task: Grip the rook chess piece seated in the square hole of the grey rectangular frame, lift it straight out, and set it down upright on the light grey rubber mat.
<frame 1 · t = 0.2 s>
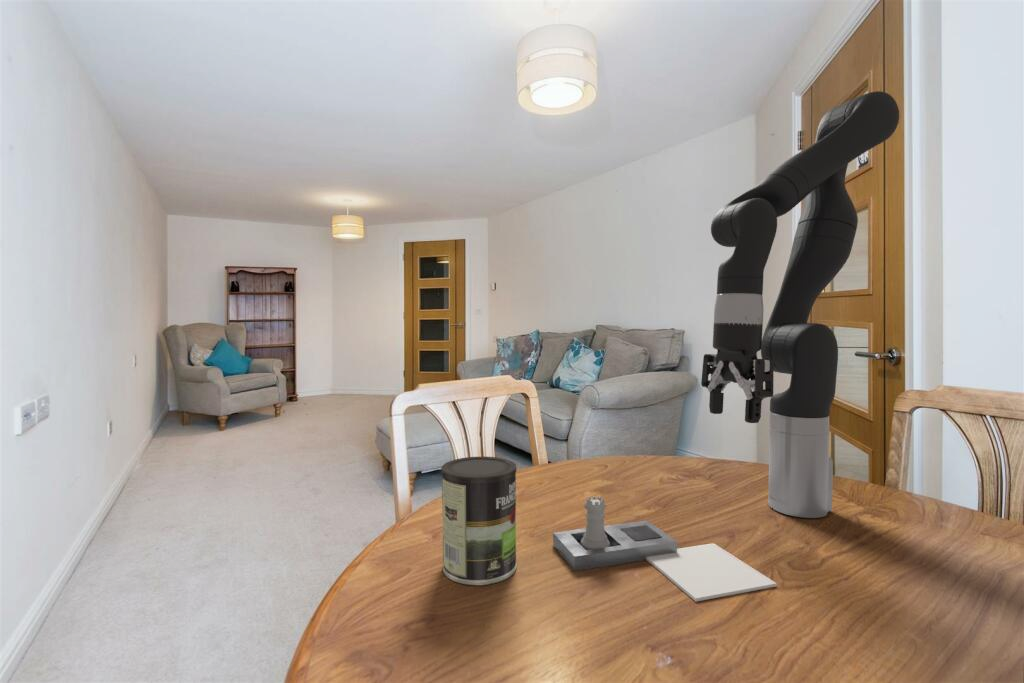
hand: (733, 417, 84), 17 cm above the table, tool pointing down, fingers open, 8 cm apart
coffee can: (479, 568, 69), on the table
rook chess piece: (595, 554, 73), resting in grey rectangular frame
grey rectangular frame: (613, 550, 74), on the table
mat: (705, 570, 67), on the table
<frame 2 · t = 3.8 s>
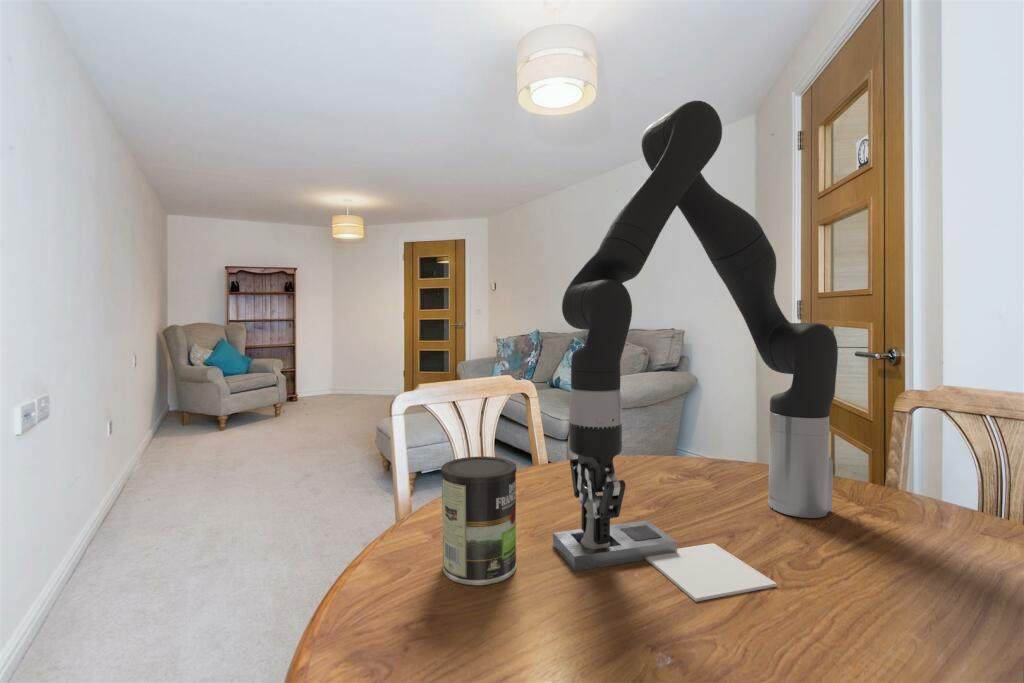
hand: (595, 536, 73), 2 cm above the table, tool pointing down, fingers closed on rook chess piece, 3 cm apart
rook chess piece: (595, 554, 73), resting in grey rectangular frame, touching gripper
everything else where it was.
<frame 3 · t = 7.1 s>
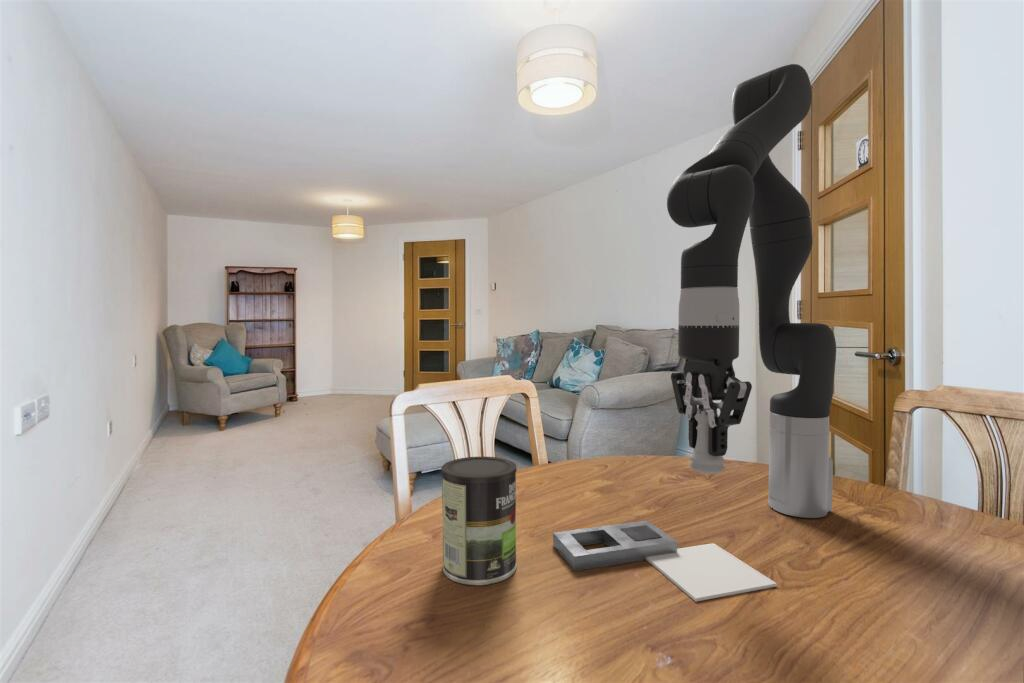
hand: (706, 450, 67), 16 cm above the table, tool pointing down, fingers closed on rook chess piece, 3 cm apart
rook chess piece: (706, 470, 67), point 14 cm above the table, touching gripper
everything else where it was.
when the fingers open (4 cm above the table, at t = 9.9 s): rook chess piece drops 1 cm, resting on mat.
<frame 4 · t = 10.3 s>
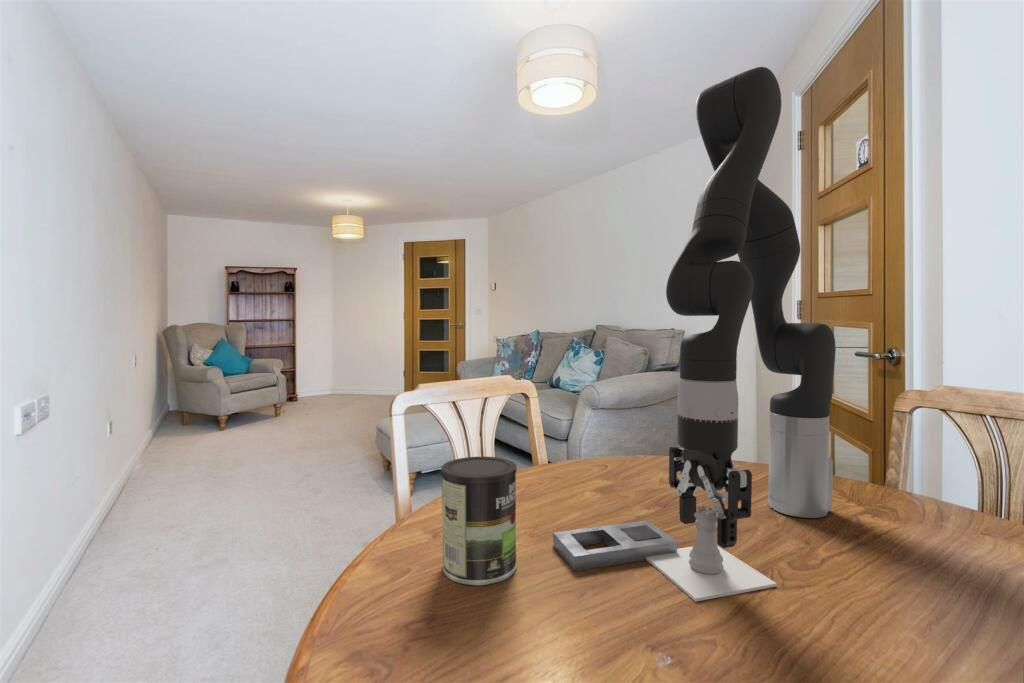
hand: (705, 533, 67), 5 cm above the table, tool pointing down, fingers open, 7 cm apart
rook chess piece: (705, 569, 67), resting on mat
everything else where it was.
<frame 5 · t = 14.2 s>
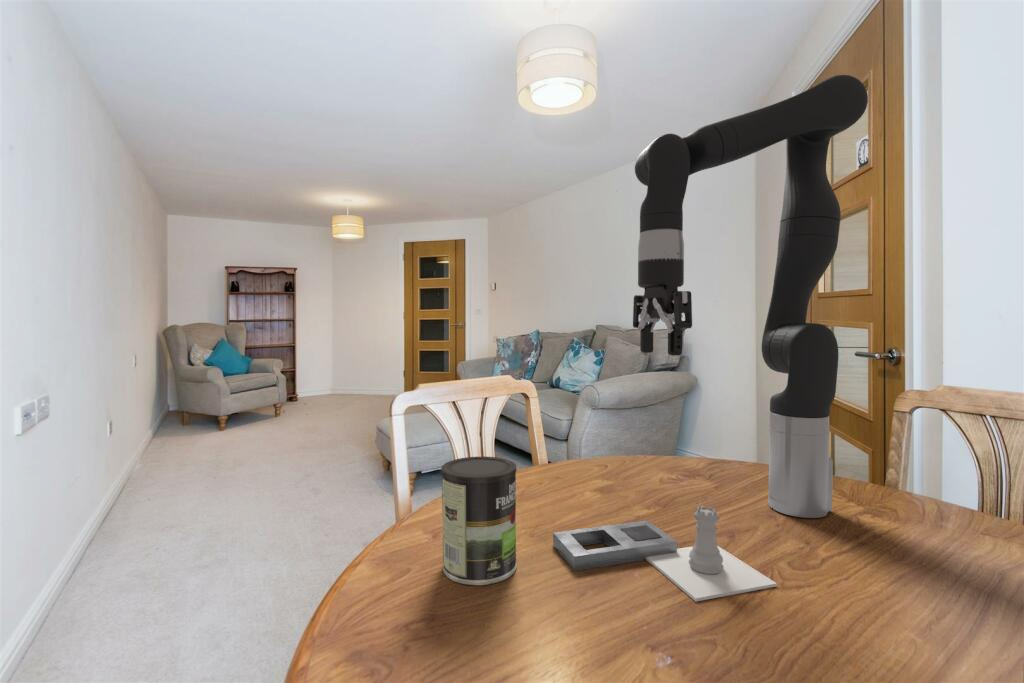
hand: (660, 353, 86), 28 cm above the table, tool pointing down, fingers open, 8 cm apart
nothing on the table moved.
at the end: rook chess piece inside the target area on the mat (0.0 cm from its centre), point 0.2 cm above the mat's base; rook chess piece tilted 0°; rook chess piece touching mat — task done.
